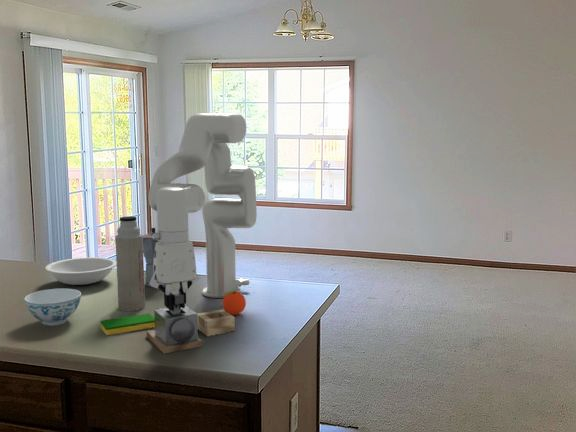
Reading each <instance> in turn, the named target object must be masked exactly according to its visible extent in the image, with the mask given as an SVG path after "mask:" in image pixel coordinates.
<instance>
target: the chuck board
mask: <svg viewBox="0 0 576 432" xmlns="http://www.w3.org/2000/svg"><path fill="white" fill-rule="evenodd" d="M146 338H147V339H148V340H150V341H151V343H152V344H154V346H156V347H157V348H158V349H159V351H161V352H162V354H169V353H174V352H179V351H183V350H190V349H194V348H195V349H196V348H199V347H203V340H202V339H201V338H199V337H198V340H196V341H191V342H185V343H180V344H175V345H169V346H165V345H164V344H163V343H162V342H161V341H160V340H159V339H158V338H157V337H156V336H155V329H151V330H146Z"/></svg>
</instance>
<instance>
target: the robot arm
mask: <svg viewBox="0 0 576 432" xmlns="http://www.w3.org/2000/svg"><path fill="white" fill-rule="evenodd" d="M246 135H247V122H246V120H245V118H244V116H243V115H242V114H240V113H228V112H227V113H224V112H223V113H221V112H220V113H215V112H213V113H211V112H209V113H208V112H206V113H196V114H193V115H191V116H190V117H189V118H188V120H187V122H186V123H185V128H184V131H183V135H182V138H181V141H180V144H179V148H178V151H177V152H176V153H174V154H172V155H171V156H169V157H168V158H167V159H166V160H165V161H164V162H162V163H161V165H159V166H158V167H157V169H156V170H155V172H154V174H153V176H152V180H151V183H150V187H149V190H148V191H149V192H148V204H149V206H150V208H151V209H152V210H153V211H155V212H156V215H157V219H156V220H157V222H156V223H157V229H156V234H153V235H152V238H153V239H156V240H157V241H158V242H157V243H156V245H155V251H154V260H153V276H152V279H151V281H150V283H149V284H150V286H149V287H151V288H154V289H159V290H160V291H161V292H162V293H163V303H164V306H165V308H168V309H169V310H172V309H173V300H172V295H171V292H170V289H171V284H177V283H178V284H179V285H178V286H179V289H177V291H179V292H180V293H182V294H183V295H184V303H182V304H181V308H185V305H186V304H187V292H188V291H189V289H190V287H191V286H192V285H193V284H195V283H197V282H198V281H199V280H200V277H199V275H198V272H197V263H196V256H195V250H194V246H193V245H194V244H193V240H189V214H191V213H192V214H193V213H197V212H199V211H200V210H201V209H202V210H201V211H202V212H201V213H202V214H201V215H202V219H203V225H204V232H205V233H204V234H205V253H206V255H205V256H206V257H205V259H206V287H204V288H203V289H202V292H201V293H202V294H201V295H203V296H204V297H206V298H207V297H208V298H211V299H212V298H214V299H223V298H224V297H225V296H224V294H225V293H226V292H227V293H226V294H228V293H229V292H228V291H236V292H239V293H241V287H242V286H249V285H250V280H249V279H248V278H246V279H243V278H240V279H238V278H236V272H237V271H236V267H237V266H236V240H235V238H234V236H233V234H232V233H231V231H230V230H229V229H250V228H253V227H254V226H255V225H256V223H257V210H258V209H257V194H256V192H257V191H256V177H255V172H254V170H253V169H252V168H251V167H249V166H246V165H232V161H231V148H230V147H229V144H239V143H241V142H242V141H244V139H245V136H246ZM203 168H204V169H203ZM201 169H203V170H204V181H205V189H206V191H207V193H209V194H211V195H215V196H234V197H235V196H236V197H237V196H238V198H225V197H224V198H219V197H218V198H210V199H208V200H206V194H205V192H204V189H203V188H202V187H201V186H200V185H198V184H195V183H175V182H174V183H172V182H173V181H175V180H176V179H178V178H180V177H184V176H186V175H189V174H191V173H195V172H197V171H199V170H201ZM157 281H158V282H159V283H161V284H162V285H161V284H159V283H157ZM226 294H225V295H226Z"/></svg>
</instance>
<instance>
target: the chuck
mask: <svg viewBox="0 0 576 432" xmlns="http://www.w3.org/2000/svg"><path fill="white" fill-rule="evenodd" d="M197 314H198V312H195V311H194V310H193V309H191V308H190V307H189V306H187V305H186V304H185V308H181V314H175V315H170V310H169V309H168V308H166V307H165V308H164V307H163V308H161V307H159V308H156V309H154V315H153V317H154V318H155V327H154V330H155V336H156V337H157V338H158V339H159V340H160V341H161V342H162V343H163V344H164V345H165V346H169V345H175V344H180V343H185V342H191V341H196V340H198V338H199V337H198V335H199V334H198V330H199V329H197Z"/></svg>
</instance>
